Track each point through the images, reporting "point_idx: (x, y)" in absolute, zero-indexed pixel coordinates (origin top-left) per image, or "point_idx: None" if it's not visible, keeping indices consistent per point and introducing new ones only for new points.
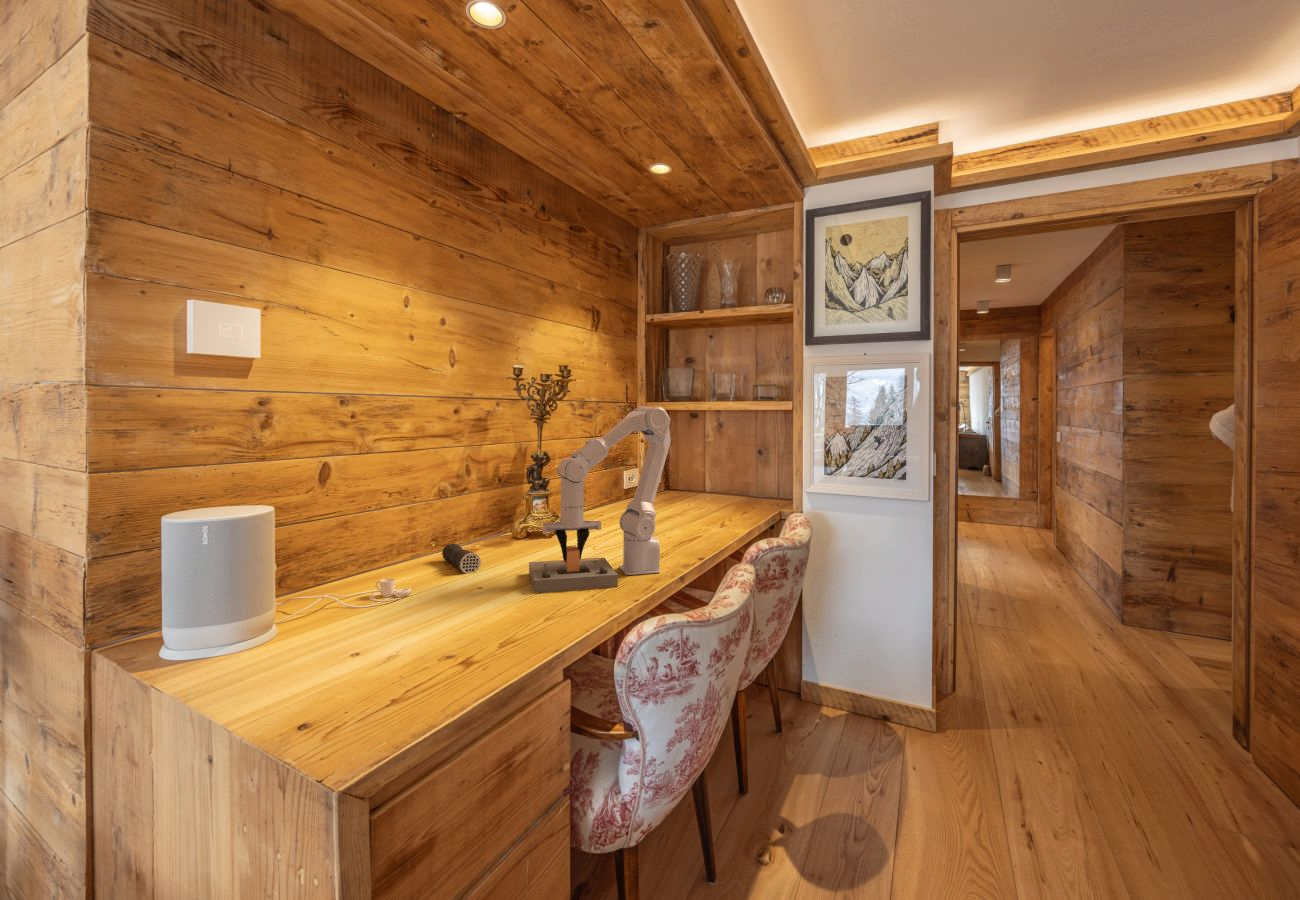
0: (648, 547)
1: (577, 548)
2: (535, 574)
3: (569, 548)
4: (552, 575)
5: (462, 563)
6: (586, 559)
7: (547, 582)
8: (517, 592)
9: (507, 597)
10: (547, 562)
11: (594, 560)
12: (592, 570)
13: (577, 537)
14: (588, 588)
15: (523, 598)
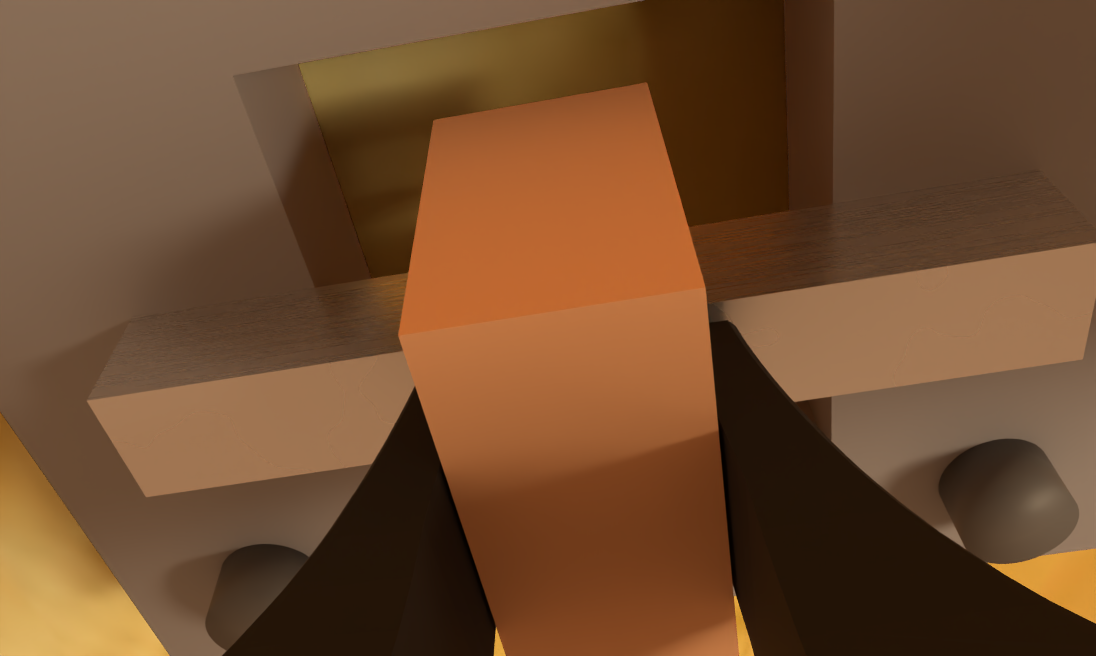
0: None
1: (720, 518)
2: (109, 515)
3: (545, 514)
4: None
5: None
6: (849, 338)
7: None
8: (34, 534)
9: (3, 623)
10: (183, 461)
11: (976, 373)
12: (869, 402)
13: (783, 635)
14: None
15: (157, 642)
